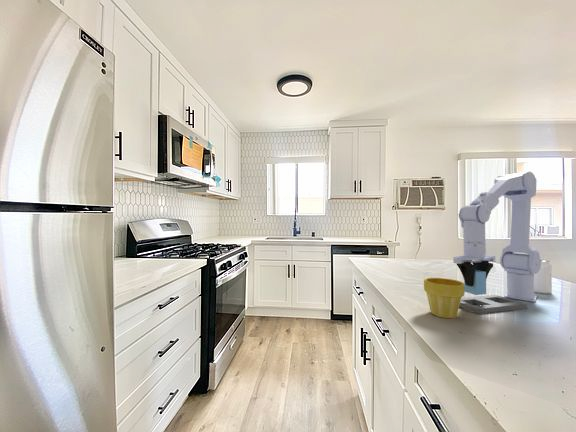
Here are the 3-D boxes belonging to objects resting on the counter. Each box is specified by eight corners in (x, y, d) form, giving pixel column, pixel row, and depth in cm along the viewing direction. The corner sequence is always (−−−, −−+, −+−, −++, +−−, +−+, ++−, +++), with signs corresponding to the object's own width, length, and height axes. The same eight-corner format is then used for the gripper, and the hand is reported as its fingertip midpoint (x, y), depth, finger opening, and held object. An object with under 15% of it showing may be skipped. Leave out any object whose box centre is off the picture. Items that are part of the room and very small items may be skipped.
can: (556, 294, 96) (555, 261, 96) (535, 293, 98) (534, 261, 98) (544, 290, 102) (543, 259, 102) (524, 289, 104) (524, 258, 104)
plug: (464, 291, 85) (464, 269, 85) (474, 290, 86) (474, 269, 86) (476, 295, 81) (475, 272, 81) (486, 294, 82) (485, 271, 82)
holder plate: (450, 303, 87) (449, 299, 87) (494, 299, 91) (494, 294, 91) (478, 314, 77) (478, 308, 77) (527, 308, 82) (526, 303, 82)
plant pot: (467, 313, 78) (467, 280, 78) (461, 324, 70) (461, 287, 70) (429, 306, 84) (428, 275, 85) (419, 314, 77) (419, 281, 77)
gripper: (467, 244, 78) (468, 290, 78) (504, 242, 81) (505, 286, 81) (447, 242, 85) (448, 284, 84) (483, 241, 88) (483, 281, 88)
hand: (475, 285), depth 83 cm, fingers closed on plug, 4 cm apart
